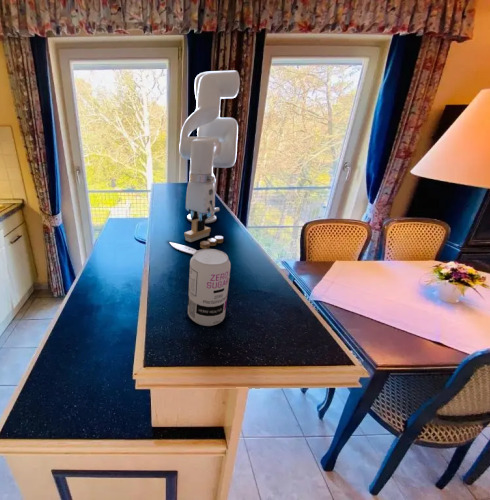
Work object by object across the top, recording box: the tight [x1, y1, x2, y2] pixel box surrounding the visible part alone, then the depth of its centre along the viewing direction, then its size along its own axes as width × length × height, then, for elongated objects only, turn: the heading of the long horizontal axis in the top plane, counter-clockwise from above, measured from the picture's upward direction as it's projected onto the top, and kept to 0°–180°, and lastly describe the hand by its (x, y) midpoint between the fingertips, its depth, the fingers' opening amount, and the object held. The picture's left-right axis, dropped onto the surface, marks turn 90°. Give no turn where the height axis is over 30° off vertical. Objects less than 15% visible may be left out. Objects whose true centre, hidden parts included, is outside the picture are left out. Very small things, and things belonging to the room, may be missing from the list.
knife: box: [169, 241, 231, 279], centre depth 88 cm, size 30×2×8 cm
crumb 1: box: [199, 240, 211, 249], centre depth 96 cm, size 3×3×2 cm
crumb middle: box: [206, 237, 218, 247], centre depth 98 cm, size 3×3×2 cm
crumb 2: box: [213, 235, 224, 244], centre depth 100 cm, size 3×3×2 cm
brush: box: [183, 218, 212, 243], centre depth 102 cm, size 11×3×7 cm, turn 129°
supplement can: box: [187, 248, 232, 327], centre depth 60 cm, size 8×8×15 cm
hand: (197, 229), depth 102 cm, fingers closed on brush, 2 cm apart
